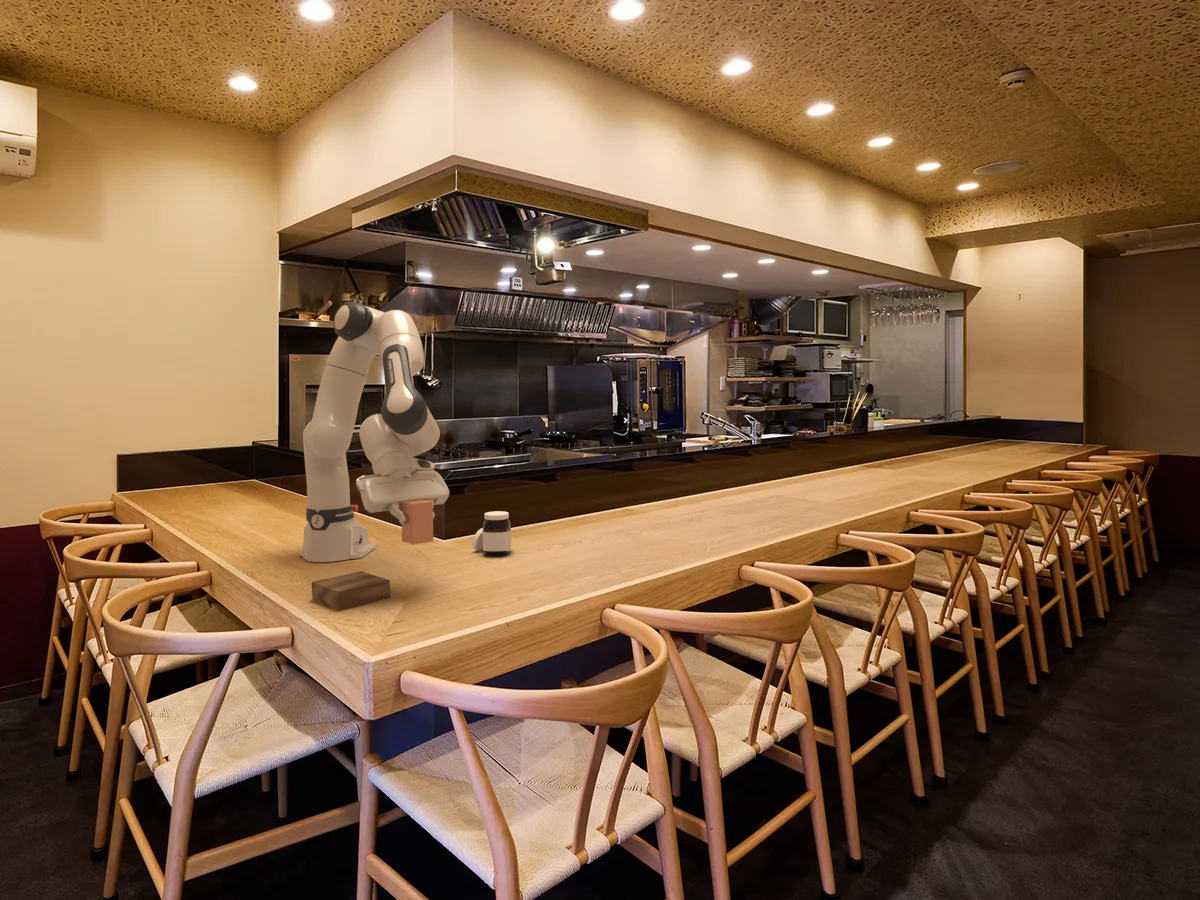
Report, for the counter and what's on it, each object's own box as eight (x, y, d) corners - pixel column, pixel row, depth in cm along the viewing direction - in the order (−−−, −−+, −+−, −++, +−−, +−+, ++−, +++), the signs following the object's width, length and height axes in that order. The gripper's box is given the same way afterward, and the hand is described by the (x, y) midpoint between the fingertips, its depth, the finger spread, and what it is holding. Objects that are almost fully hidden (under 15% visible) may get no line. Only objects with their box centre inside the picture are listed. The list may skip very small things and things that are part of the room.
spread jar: (508, 557, 192) (507, 516, 191) (467, 557, 192) (466, 516, 191) (514, 548, 204) (513, 509, 203) (476, 548, 204) (475, 509, 203)
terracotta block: (401, 541, 156) (401, 501, 155) (421, 538, 159) (421, 499, 158) (413, 544, 152) (412, 504, 151) (433, 541, 156) (432, 501, 155)
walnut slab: (312, 601, 153) (311, 581, 153) (362, 590, 162) (361, 571, 162) (339, 612, 145) (338, 591, 145) (390, 599, 154) (389, 580, 154)
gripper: (357, 467, 152) (379, 517, 146) (438, 461, 166) (462, 506, 160) (348, 485, 155) (370, 535, 149) (429, 478, 170) (451, 523, 164)
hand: (418, 520), depth 155 cm, fingers closed on terracotta block, 5 cm apart
